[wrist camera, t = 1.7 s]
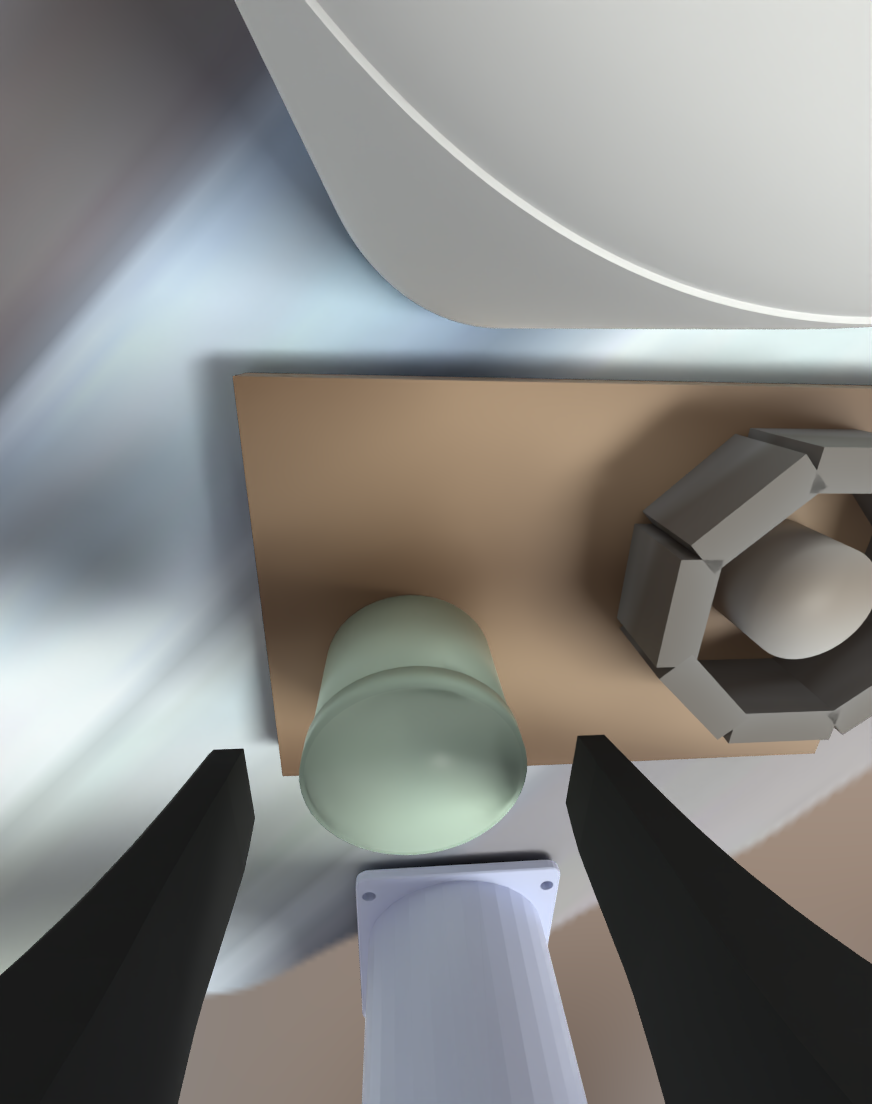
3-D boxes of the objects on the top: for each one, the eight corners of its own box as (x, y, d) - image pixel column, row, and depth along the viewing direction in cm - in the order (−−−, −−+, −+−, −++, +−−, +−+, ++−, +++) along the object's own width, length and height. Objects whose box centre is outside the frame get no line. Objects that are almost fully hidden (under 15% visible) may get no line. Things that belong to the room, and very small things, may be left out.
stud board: (789, 728, 19) (875, 813, 15) (289, 747, 17) (265, 845, 14) (919, 386, 14) (1083, 401, 11) (246, 372, 12) (193, 385, 9)
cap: (488, 731, 16) (516, 849, 12) (328, 737, 16) (308, 861, 12) (499, 590, 14) (538, 679, 10) (316, 592, 14) (289, 687, 10)
